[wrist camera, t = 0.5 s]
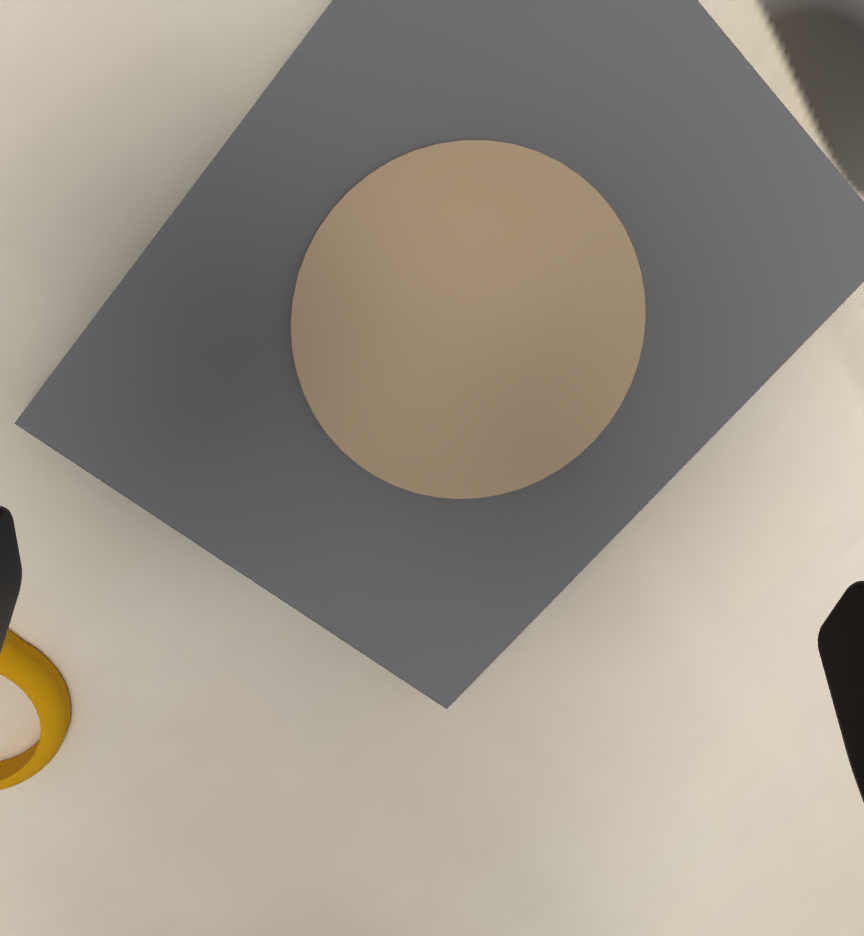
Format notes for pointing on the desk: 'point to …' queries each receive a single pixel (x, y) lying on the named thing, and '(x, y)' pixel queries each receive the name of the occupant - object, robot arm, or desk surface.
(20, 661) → the yellow joined rings
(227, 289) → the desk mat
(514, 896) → the desk surface
